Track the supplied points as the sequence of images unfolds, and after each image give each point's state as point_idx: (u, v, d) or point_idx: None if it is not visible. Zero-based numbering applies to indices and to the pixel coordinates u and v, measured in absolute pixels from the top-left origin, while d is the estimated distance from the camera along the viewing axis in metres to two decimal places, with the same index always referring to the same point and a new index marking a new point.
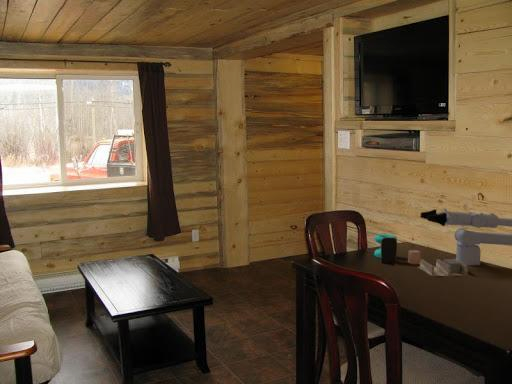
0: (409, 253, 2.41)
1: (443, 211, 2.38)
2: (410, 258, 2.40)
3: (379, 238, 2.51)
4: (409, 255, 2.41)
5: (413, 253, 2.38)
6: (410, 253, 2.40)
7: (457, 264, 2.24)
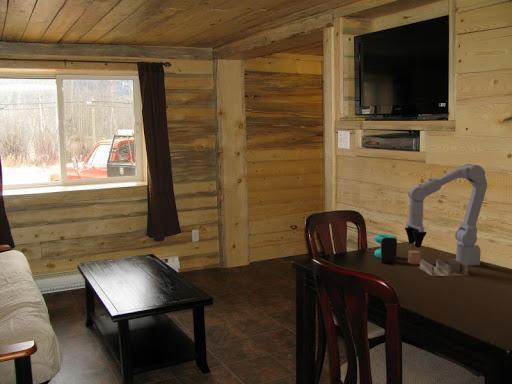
0: (409, 253, 2.41)
1: None
2: (410, 258, 2.40)
3: (379, 238, 2.51)
4: (409, 255, 2.41)
5: (413, 253, 2.38)
6: (410, 253, 2.40)
7: (457, 264, 2.24)
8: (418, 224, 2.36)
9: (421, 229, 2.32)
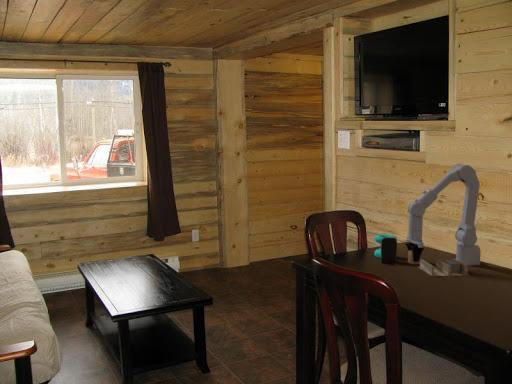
0: (409, 253, 2.41)
1: (408, 241, 2.40)
2: (410, 257, 2.40)
3: (379, 238, 2.51)
4: (409, 255, 2.41)
5: None
6: (410, 253, 2.40)
7: (457, 264, 2.24)
8: (417, 239, 2.37)
9: (420, 245, 2.33)
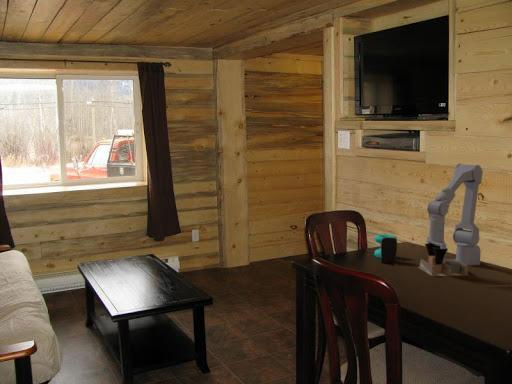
0: (429, 259, 2.27)
1: (429, 242, 2.26)
2: (431, 263, 2.26)
3: (379, 238, 2.51)
4: (429, 261, 2.27)
5: (434, 259, 2.25)
6: (431, 259, 2.26)
7: (457, 264, 2.24)
8: (439, 240, 2.23)
9: (443, 246, 2.19)
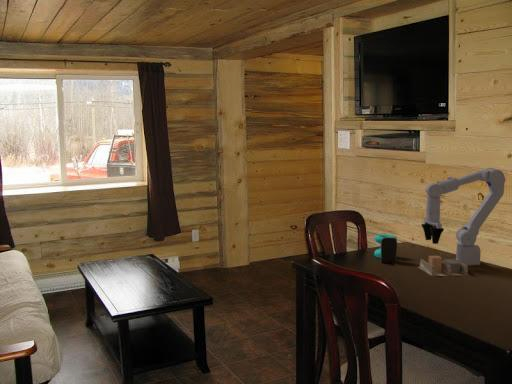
0: (429, 259, 2.27)
1: (426, 222, 2.41)
2: (431, 263, 2.26)
3: (379, 238, 2.51)
4: (429, 261, 2.27)
5: (434, 259, 2.25)
6: (431, 259, 2.26)
7: (457, 264, 2.24)
8: (435, 220, 2.38)
9: (439, 225, 2.34)
